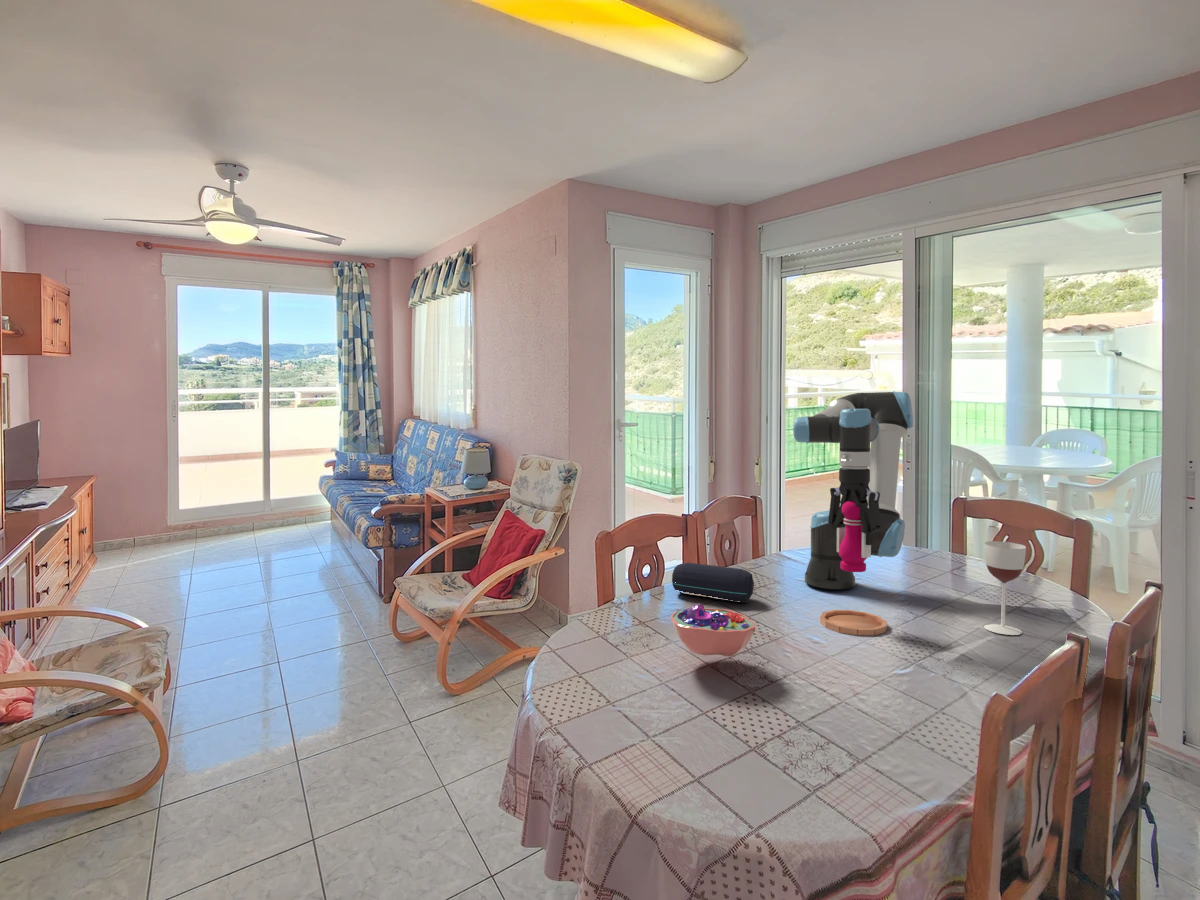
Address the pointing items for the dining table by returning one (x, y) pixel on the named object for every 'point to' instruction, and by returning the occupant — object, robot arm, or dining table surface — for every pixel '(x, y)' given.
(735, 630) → the cell model
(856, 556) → the pepper mill
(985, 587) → the dining table surface
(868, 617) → the terracotta saucer
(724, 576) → the portable speaker
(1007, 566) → the wineglass
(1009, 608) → the dining table surface
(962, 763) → the dining table surface
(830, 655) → the dining table surface
